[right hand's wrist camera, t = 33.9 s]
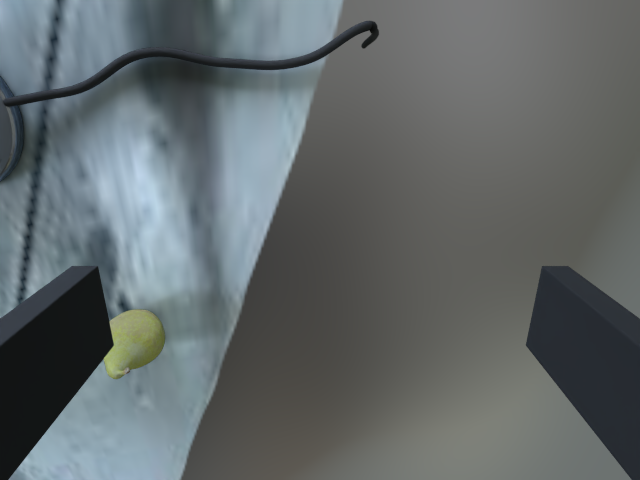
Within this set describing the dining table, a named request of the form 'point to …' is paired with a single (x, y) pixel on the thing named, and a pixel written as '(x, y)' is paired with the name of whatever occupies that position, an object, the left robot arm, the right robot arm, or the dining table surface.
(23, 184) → the dining table surface
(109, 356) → the fruit
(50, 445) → the dining table surface
